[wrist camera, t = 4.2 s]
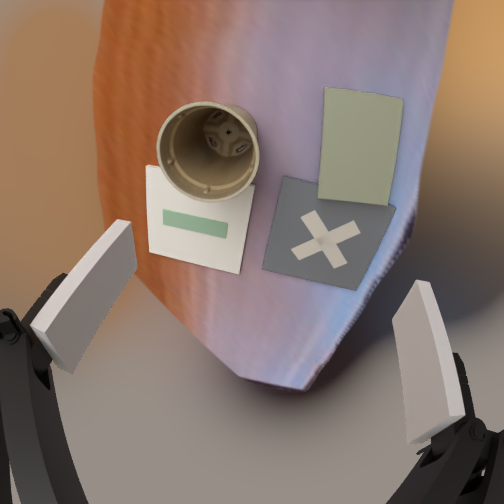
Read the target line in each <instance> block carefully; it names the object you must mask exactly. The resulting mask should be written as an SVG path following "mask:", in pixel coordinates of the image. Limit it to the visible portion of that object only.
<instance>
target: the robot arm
mask: <svg viewBox="0 0 504 504" xmlns="http://www.w3.org/2000/svg"><path fill="white" fill-rule="evenodd" d="M137 268H138V266H137V260H136V254H135V247H134V240H133V233H132V225H131V222H129V221H124V220H119V219H117V220H116V221H115V222H114V223H113V224H112V225H111V226H110V228H109V229H108V230H107V231H106V232H105V233H104V234H103V235H102V236H101V237H100V238H99V240H98V241H97V242H96V243H95V244H94V245H93V246H92V247H91V249H90V250H89V251H88V252H87V253H86V254H85V255H84V257H83V258H82V259H81V260H80V261H79V262H78V264H77V265H76V266H75V267H74V268H73V270H72V271H71V272H70V273H69V274H65V273H62V274H61V275H59V276H58V277H56V278H55V279H53V280H52V282H51V283H50V284H49V286H48V287H47V288H46V290H44V292H43V293H42V294H41V297H39V298H38V299H37V301H36V302H35V303H34V304H33V306H32V307H31V308H30V310H29V311H28V312H27V314H26V315H25V317H24V318H23V319H22V321H21V322H20V320H19V319H18V317H17V315H16V314H15V312H14V311H13V310H11V309H9V308H7V309H2V310H0V504H13V503H12V495H11V484H10V466H9V461H10V465H11V469H12V474H13V477H14V481H15V485H16V488H17V492H18V495H19V498H20V502H21V504H88V501H87V499H86V497H85V494H84V491H83V489H82V486H81V483H80V481H79V478H78V476H77V472H76V469H75V467H74V464H73V460H72V457H71V454H70V451H69V448H68V444H67V440H66V437H65V433H64V429H63V425H62V421H61V417H60V412H59V408H58V403H57V398H56V393H55V387H54V382H53V376H52V370H51V367H50V363H51V362H52V360H53V361H54V363H55V364H56V365H57V367H58V368H60V369H62V370H64V371H66V372H68V373H70V374H73V372H74V370H75V369H76V366H77V365H78V363H79V361H80V360H81V358H82V356H83V354H84V352H85V351H86V349H87V347H88V346H89V344H90V342H91V340H92V339H93V337H94V335H95V334H96V332H97V330H98V328H99V327H100V325H101V324H102V322H103V320H104V319H105V317H106V316H107V314H108V312H109V311H110V309H111V308H112V306H113V304H114V303H115V301H116V300H117V298H118V297H119V295H120V294H121V292H122V290H123V289H124V287H125V286H126V284H127V283H128V281H129V279H130V278H131V277H132V275H133V274H134V272H135V271H136V269H137ZM392 322H393V328H394V333H395V339H396V345H397V351H398V358H399V365H400V372H401V381H402V389H403V397H404V409H405V421H406V437H407V444H417V443H423V442H425V441H426V440H428V439H430V438H431V444H430V445H428V446H427V447H425V448H423V449H421V450H419V451H418V452H417V453H416V454H417V455H419V454H421V453H423V452H424V453H423V454H422V456H421V457H420V459H419V460H418V462H417V463H416V465H415V466H414V468H413V469H412V470H411V472H410V473H409V475H408V476H407V477H406V479H405V480H404V481H403V483H402V484H401V485H400V487H399V488H398V489H397V491H396V492H395V493H394V494H393V496H392V497H391V498H390V499H389V500H388V502H387V503H386V504H504V430H502V431H501V432H499V433H496V432H493V431H490V430H487V429H486V426H485V424H484V423H483V421H482V420H480V419H478V418H476V417H475V413H474V407H473V402H472V397H471V392H470V388H469V385H468V379H467V376H466V371H465V367H464V363H463V361H462V360H461V358H460V356H459V355H458V353H452V351H451V347H450V344H449V340H448V337H447V333H446V330H445V327H444V323H443V320H442V317H441V314H440V311H439V308H438V305H437V302H436V299H435V296H434V293H433V291H432V288H431V285H430V283H429V282H425V281H420V280H416V281H415V283H414V285H413V287H412V288H411V290H410V291H409V293H408V295H407V296H406V298H405V300H404V301H403V303H402V305H401V306H400V308H399V309H398V311H397V312H396V314H395V316H394V317H393V319H392ZM483 470H485V473H484V476H481V474H482V471H483Z"/></svg>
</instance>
